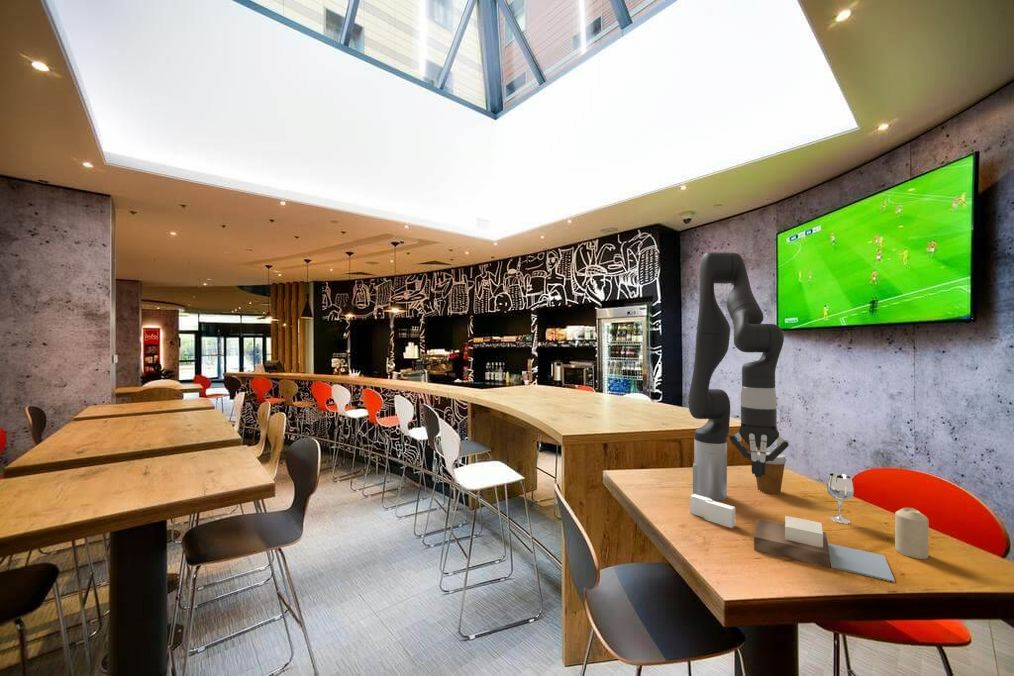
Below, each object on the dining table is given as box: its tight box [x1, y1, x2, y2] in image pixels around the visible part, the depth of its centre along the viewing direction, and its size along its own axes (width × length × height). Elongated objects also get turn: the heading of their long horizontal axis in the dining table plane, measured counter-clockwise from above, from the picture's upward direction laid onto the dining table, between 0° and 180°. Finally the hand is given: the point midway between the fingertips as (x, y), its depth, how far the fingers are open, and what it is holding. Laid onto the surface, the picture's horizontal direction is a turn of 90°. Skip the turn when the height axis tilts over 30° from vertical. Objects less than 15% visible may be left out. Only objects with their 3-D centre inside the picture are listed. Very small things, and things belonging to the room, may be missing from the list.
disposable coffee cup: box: [755, 449, 787, 495], centre depth 136 cm, size 10×10×12 cm
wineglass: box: [826, 472, 855, 525], centre depth 114 cm, size 6×6×12 cm
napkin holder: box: [689, 493, 736, 529], centre depth 116 cm, size 15×11×6 cm
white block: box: [784, 515, 824, 548], centre depth 98 cm, size 7×7×3 cm
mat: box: [828, 543, 896, 583], centre depth 93 cm, size 10×12×1 cm
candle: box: [894, 507, 930, 560], centre depth 97 cm, size 6×6×10 cm
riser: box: [753, 518, 831, 569], centre depth 99 cm, size 14×12×3 cm
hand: (758, 476), depth 103 cm, fingers closed
